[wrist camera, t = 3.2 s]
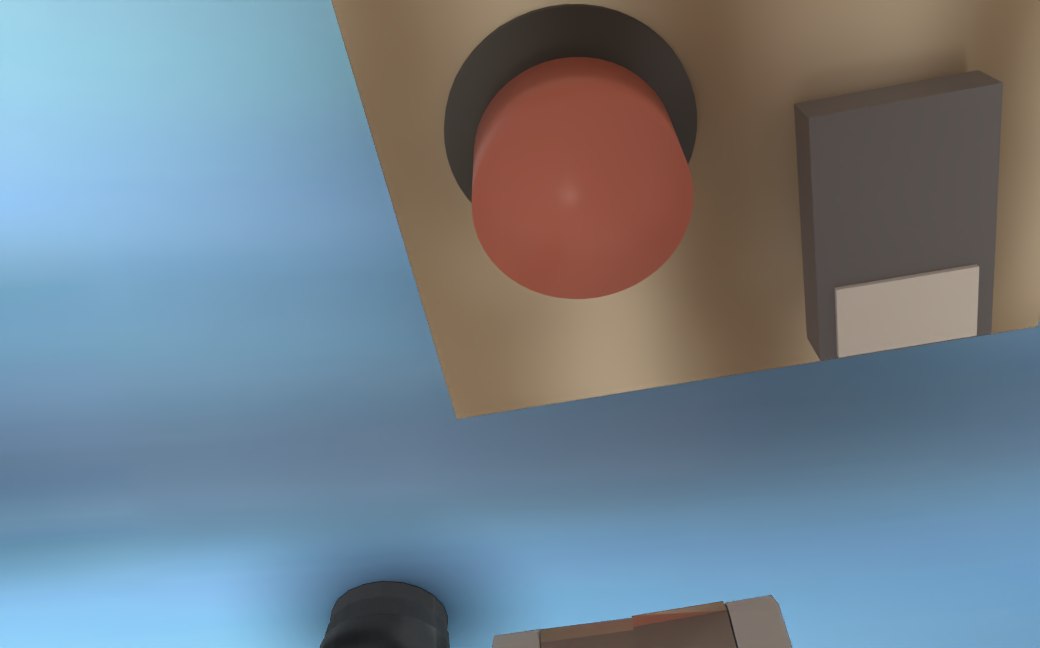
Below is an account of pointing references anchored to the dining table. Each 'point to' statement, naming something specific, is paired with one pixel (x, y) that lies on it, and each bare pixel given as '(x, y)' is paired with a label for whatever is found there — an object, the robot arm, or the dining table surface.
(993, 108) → the charcoal rocker switch
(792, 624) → the dining table surface
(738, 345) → the control board
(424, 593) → the beverage cup
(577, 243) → the brick-red push button
